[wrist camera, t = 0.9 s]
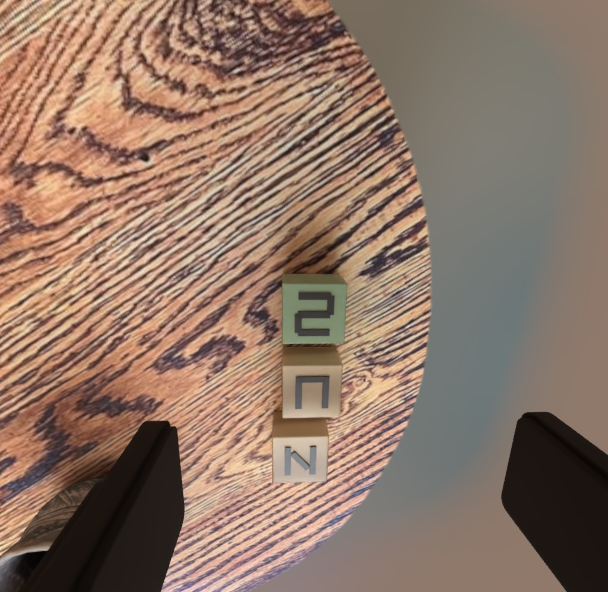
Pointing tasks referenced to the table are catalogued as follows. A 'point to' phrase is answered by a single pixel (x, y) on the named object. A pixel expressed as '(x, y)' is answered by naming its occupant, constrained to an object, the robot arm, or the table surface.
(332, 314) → the green number block
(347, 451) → the table surface
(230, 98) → the table surface
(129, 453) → the robot arm
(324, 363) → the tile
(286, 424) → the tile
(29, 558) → the mug
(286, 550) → the table surface
